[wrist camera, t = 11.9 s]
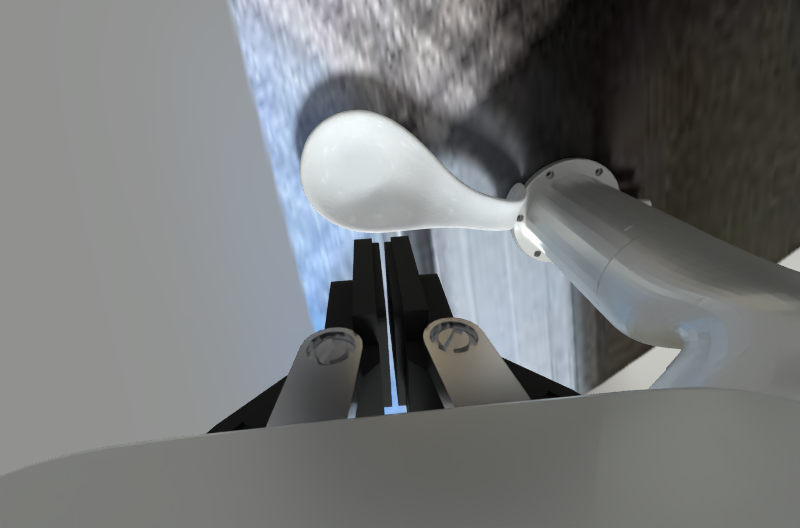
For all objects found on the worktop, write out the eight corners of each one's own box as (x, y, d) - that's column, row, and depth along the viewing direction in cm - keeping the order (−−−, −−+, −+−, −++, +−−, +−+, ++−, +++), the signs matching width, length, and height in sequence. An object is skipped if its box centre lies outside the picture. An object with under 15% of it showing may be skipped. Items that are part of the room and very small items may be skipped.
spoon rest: (298, 207, 41) (286, 233, 34) (311, 92, 35) (301, 98, 29) (496, 244, 45) (518, 274, 39) (534, 147, 40) (567, 163, 34)
